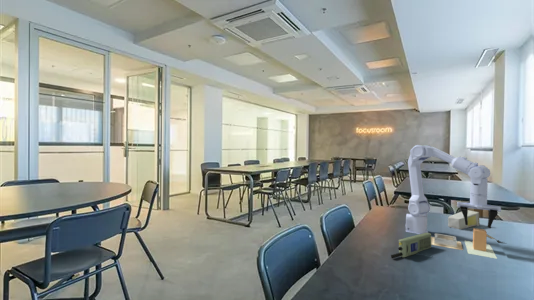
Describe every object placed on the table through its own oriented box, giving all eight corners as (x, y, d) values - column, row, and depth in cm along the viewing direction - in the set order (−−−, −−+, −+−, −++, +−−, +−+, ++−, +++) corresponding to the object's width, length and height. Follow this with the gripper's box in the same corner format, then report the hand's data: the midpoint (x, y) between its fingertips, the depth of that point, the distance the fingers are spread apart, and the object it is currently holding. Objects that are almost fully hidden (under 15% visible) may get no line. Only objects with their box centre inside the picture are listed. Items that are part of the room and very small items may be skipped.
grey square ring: (434, 243, 118) (434, 238, 118) (434, 238, 125) (434, 233, 125) (456, 247, 114) (456, 241, 114) (455, 242, 121) (455, 236, 121)
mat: (467, 254, 108) (468, 253, 108) (464, 241, 123) (464, 240, 123) (497, 260, 103) (497, 258, 103) (489, 245, 118) (489, 244, 118)
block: (459, 230, 141) (460, 215, 141) (444, 226, 149) (444, 211, 149) (479, 226, 150) (480, 211, 150) (463, 222, 157) (464, 208, 157)
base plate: (428, 245, 118) (428, 244, 118) (429, 237, 128) (429, 236, 128) (462, 251, 111) (462, 250, 111) (460, 243, 121) (460, 241, 121)
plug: (473, 249, 112) (474, 230, 112) (472, 246, 116) (473, 227, 116) (486, 251, 110) (486, 232, 110) (484, 248, 114) (485, 229, 113)
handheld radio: (433, 249, 114) (396, 261, 101) (425, 247, 117) (388, 258, 104) (432, 233, 114) (396, 243, 101) (424, 231, 117) (388, 241, 104)
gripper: (458, 193, 115) (457, 225, 115) (502, 197, 107) (501, 231, 107) (457, 191, 121) (456, 221, 121) (499, 195, 113) (498, 227, 113)
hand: (477, 226), depth 114 cm, fingers open, 7 cm apart
